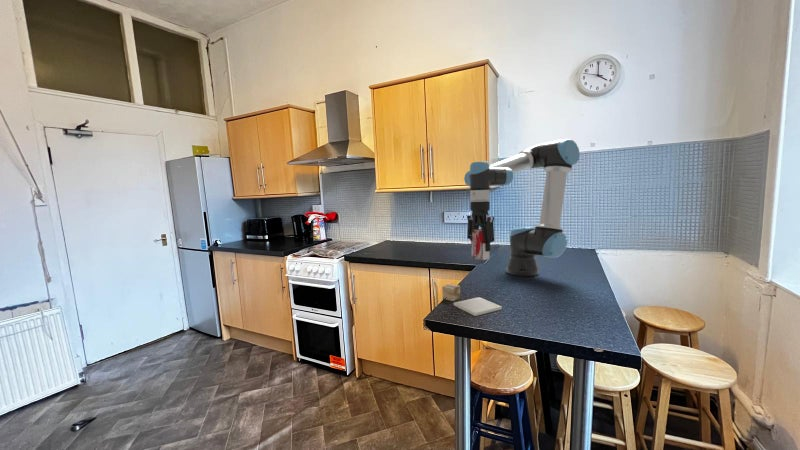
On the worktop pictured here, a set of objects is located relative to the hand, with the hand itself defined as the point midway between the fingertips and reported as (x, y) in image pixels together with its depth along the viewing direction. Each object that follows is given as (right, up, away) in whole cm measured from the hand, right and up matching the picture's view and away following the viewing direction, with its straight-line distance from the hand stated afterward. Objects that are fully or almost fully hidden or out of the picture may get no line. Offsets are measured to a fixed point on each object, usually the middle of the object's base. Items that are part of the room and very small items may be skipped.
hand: (480, 257), depth 129 cm
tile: (-5, -17, -14) cm, 22 cm away
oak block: (-12, -16, -4) cm, 20 cm away
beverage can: (0, -1, 0) cm, 1 cm away
